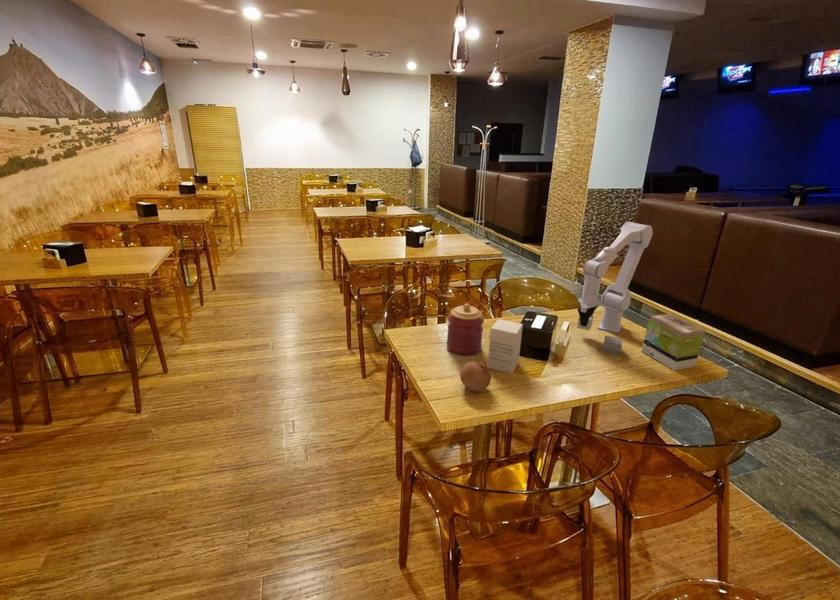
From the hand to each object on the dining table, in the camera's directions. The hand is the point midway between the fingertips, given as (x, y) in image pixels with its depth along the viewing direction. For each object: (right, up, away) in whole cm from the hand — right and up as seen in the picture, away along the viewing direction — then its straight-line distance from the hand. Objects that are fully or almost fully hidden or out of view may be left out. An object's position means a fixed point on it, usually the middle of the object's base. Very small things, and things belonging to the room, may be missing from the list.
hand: (585, 323), depth 167 cm
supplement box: (-37, -13, -21) cm, 45 cm away
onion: (-48, -18, -35) cm, 63 cm away
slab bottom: (+6, -10, -9) cm, 15 cm away
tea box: (+24, -12, -14) cm, 31 cm away
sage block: (0, -2, +1) cm, 2 cm away
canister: (-49, -9, -10) cm, 51 cm away
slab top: (+6, -8, -10) cm, 14 cm away
